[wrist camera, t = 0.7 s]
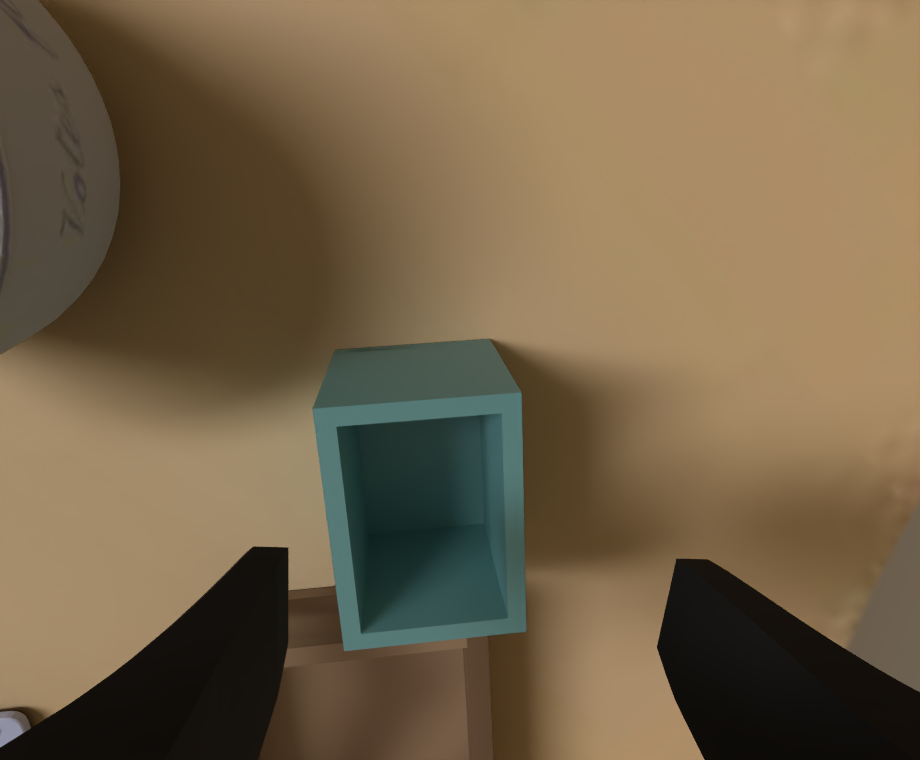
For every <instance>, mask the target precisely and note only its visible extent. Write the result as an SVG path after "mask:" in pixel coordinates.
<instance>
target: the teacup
mask: <svg viewBox="0 0 920 760" xmlns="http://www.w3.org/2000/svg"><path fill="white" fill-rule="evenodd" d="M119 201H120V171H119V159H118V152H117V146H116V141H115V137H114V132H113V128H112V125H111V121H110V118H109V115H108V113H107V110H106V107H105V105H104V102H103V99H102V97H101V95H100V92H99V90H98V88H97V86H96V83H95V81H94V79H93V77H92V75H91V73H90V71H89V70H88V68H87V66H86V64H85V63H84V61H83V59H82V57H81V56H80V54H79V52H78V51H77V49H76V48H75V46H74V45H73V44H72V42H71V41H70V39H69V38H68V36H67V35H66V33H65V32H64V31H63V30H62V28H61V27H60V26H59V25H58V23H57V22H56V21H55V20H54V18H53V17H52V16H51V15H50V13H49V12H48V11H47V10H46V9H45V8H44V7H43V5H42V4H41V3H40V2H39V1H38V0H0V354H2V353H4V352H6V351H7V350H9V349H11V348H13V347H14V346H16V345H18V344H19V343H21V342H23V341H25V340H26V339H28V338H29V337H31V336H32V335H34V334H35V333H37V332H39V331H40V330H42V329H43V328H44V327H46V326H47V325H49V324H50V323H52V322H53V321H54V320H56V319H57V318H58V317H59V316H60V315H61V314H62V313H63V312H64V311H65V310H66V309H68V308H69V307H70V306H71V305H72V304H73V303H74V302H75V301H76V300H77V299H78V298H79V296H80V295H81V294H82V293H83V291H84V290H85V289H86V288H87V286H88V285H89V284H90V283H91V281H92V280H93V278H94V276H95V275H96V273H97V271H98V269H99V268H100V266H101V264H102V262H103V261H104V259H105V256H106V253H107V251H108V248H109V246H110V243H111V240H112V237H113V234H114V230H115V226H116V222H117V218H118V212H119Z"/></svg>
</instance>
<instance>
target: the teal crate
mask: <svg viewBox="0 0 920 760" xmlns="http://www.w3.org/2000/svg"><path fill="white" fill-rule="evenodd" d="M313 416H314V423H315V431H316V439H317V447H318V454H319V462H320V470H321V477H322V485H323V493H324V500H325V508H326V516H327V523H328V531H329V539H330V546H331V554H332V562H333V570H334V577H335V585H336V593H337V600H338V608H339V616H340V623H341V631H342V639H343V646H344V651H351V650H361V649H370V648H379V647H388V646H398V645H407V644H416V643H426V642H435V641H444V640H454V639H463V638H472V637H481V636H491V635H500V634H509V633H519V632H526V586H525V537H524V488H523V439H522V392H521V391H520V389H519V387H518V386H517V384H516V382H515V381H514V379H513V377H512V375H511V374H510V372H509V370H508V369H507V367H506V365H505V364H504V362H503V360H502V359H501V357H500V355H499V353H498V352H497V350H496V348H495V347H494V345H493V343H492V342H491V340H490V339H480V340H466V341H452V342H437V343H423V344H409V345H395V346H381V347H367V348H353V349H339V350H335V351H334V354H333V357H332V359H331V362H330V364H329V367H328V370H327V372H326V375H325V378H324V380H323V383H322V385H321V388H320V391H319V393H318V396H317V399H316V401H315V404H314V406H313Z"/></svg>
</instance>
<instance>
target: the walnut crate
mask: <svg viewBox="0 0 920 760" xmlns="http://www.w3.org/2000/svg"><path fill="white" fill-rule="evenodd" d="M258 760H493V738H492V714H491V691H490V668H489V645H488V636H481V637H472V638H463V639H454V640H444V641H435V642H426V643H416V644H407V645H398V646H388V647H379V648H370V649H361V650H351V651H344V646H343V639H342V631H341V623H340V616H339V608H338V600H337V593H336V586H335V587H325V588H315V589H305V590H295V591H288V647H287V653H286V658H285V663H284V668H283V673H282V678H281V683H280V688H279V693H278V698H277V701H276V704H275V707H274V711H273V714H272V717H271V720H270V723H269V727H268V730H267V733H266V736H265V739H264V742H263V745H262V749H261V752H260V755H259V758H258Z"/></svg>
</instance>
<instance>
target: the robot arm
mask: <svg viewBox="0 0 920 760" xmlns="http://www.w3.org/2000/svg"><path fill="white" fill-rule="evenodd" d="M287 647H288V548H284V547H252V548H251V549H250V550H249V551H248V552H246V553H245V554H244V555H243V556H242V557H241V558H240V559H239V560H238V561H237V562H236V563H235V564H234V566H233V567H232V568H231V569H230V570H229V571H228V572H227V573H226V574H225V575H224V576H223V577H222V578H221V579H220V580H219V581H218V582H217V583H216V584H215V585H214V586H213V587H211V588H210V589H209V590H208V591H207V592H206V593H205V594H204V595H203V596H202V597H201V598H200V599H199V600H198V601H197V602H196V603H195V604H194V605H193V606H191V607H190V608H189V609H188V610H187V611H186V612H185V613H184V614H183V615H182V616H181V617H180V618H179V619H178V620H176V621H175V622H174V623H173V624H172V625H171V626H170V627H169V628H167V629H166V630H165V631H164V632H163V633H161V634H160V635H159V636H158V637H157V638H156V639H154V640H153V641H152V642H151V643H150V644H148V645H147V646H146V647H145V648H144V649H143V650H141V651H140V652H139V653H138V654H137V655H135V656H134V657H133V658H132V659H130V660H129V661H128V662H127V663H125V664H124V665H123V666H122V667H120V668H119V669H118V670H116V671H115V672H114V673H113V674H111V675H110V676H109V677H107V678H106V679H104V680H103V681H101V682H100V683H99V684H97V685H96V686H94V687H93V688H92V689H90V690H89V691H87V692H86V693H85V694H83V695H82V696H80V697H79V698H78V699H76V700H75V701H73V702H72V703H70V704H69V705H67V706H66V707H64V708H62V709H61V710H59V711H58V712H56V713H55V714H53V715H51V716H50V717H48V718H47V719H45V720H43V721H42V722H40V723H39V724H37V725H35V726H34V727H32V728H31V727H30V724H29V721H28V719H27V717H26V716H25V715H24V714H22V713H21V712H18V711H6V712H0V760H258V758H259V755H260V752H261V749H262V745H263V742H264V739H265V736H266V733H267V730H268V727H269V723H270V720H271V717H272V714H273V711H274V707H275V704H276V701H277V698H278V693H279V688H280V683H281V678H282V673H283V668H284V663H285V658H286V653H287ZM657 649H658V652H659V655H660V658H661V661H662V664H663V667H664V670H665V673H666V676H667V679H668V682H669V684H670V687H671V690H672V692H673V695H674V698H675V700H676V702H677V705H678V707H679V709H680V711H681V713H682V715H683V717H684V719H685V721H686V723H687V725H688V727H689V729H690V731H691V733H692V735H693V737H694V739H695V741H696V743H697V745H698V747H699V749H700V751H701V753H702V755H703V757H704V759H705V760H920V692H918V691H916V690H914V689H913V688H911V687H909V686H907V685H905V684H903V683H901V682H900V681H898V680H896V679H894V678H893V677H891V676H889V675H887V674H886V673H884V672H882V671H880V670H879V669H877V668H875V667H874V666H872V665H870V664H869V663H867V662H865V661H864V660H862V659H861V658H859V657H857V656H856V655H854V654H852V653H851V652H849V651H848V650H846V649H844V648H843V647H841V646H839V645H838V644H836V643H835V642H833V641H832V640H830V639H828V638H827V637H825V636H824V635H822V634H821V633H819V632H818V631H816V630H814V629H813V628H811V627H810V626H808V625H807V624H805V623H804V622H802V621H801V620H799V619H798V618H796V617H795V616H793V615H792V614H790V613H789V612H787V611H786V610H784V609H783V608H782V607H780V606H779V605H777V604H776V603H774V602H773V601H771V600H770V599H768V598H767V597H765V596H764V595H762V594H761V593H759V592H758V591H756V590H755V589H754V588H752V587H751V586H749V585H748V584H746V583H745V582H743V581H742V580H740V579H739V578H737V577H736V576H734V575H733V574H731V573H729V572H728V571H726V570H725V569H723V568H721V567H720V566H718V565H716V564H715V563H713V562H711V561H709V560H707V559H676V564H675V568H674V573H673V577H672V582H671V586H670V591H669V595H668V600H667V604H666V609H665V613H664V618H663V622H662V627H661V631H660V636H659V640H658V645H657Z"/></svg>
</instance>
